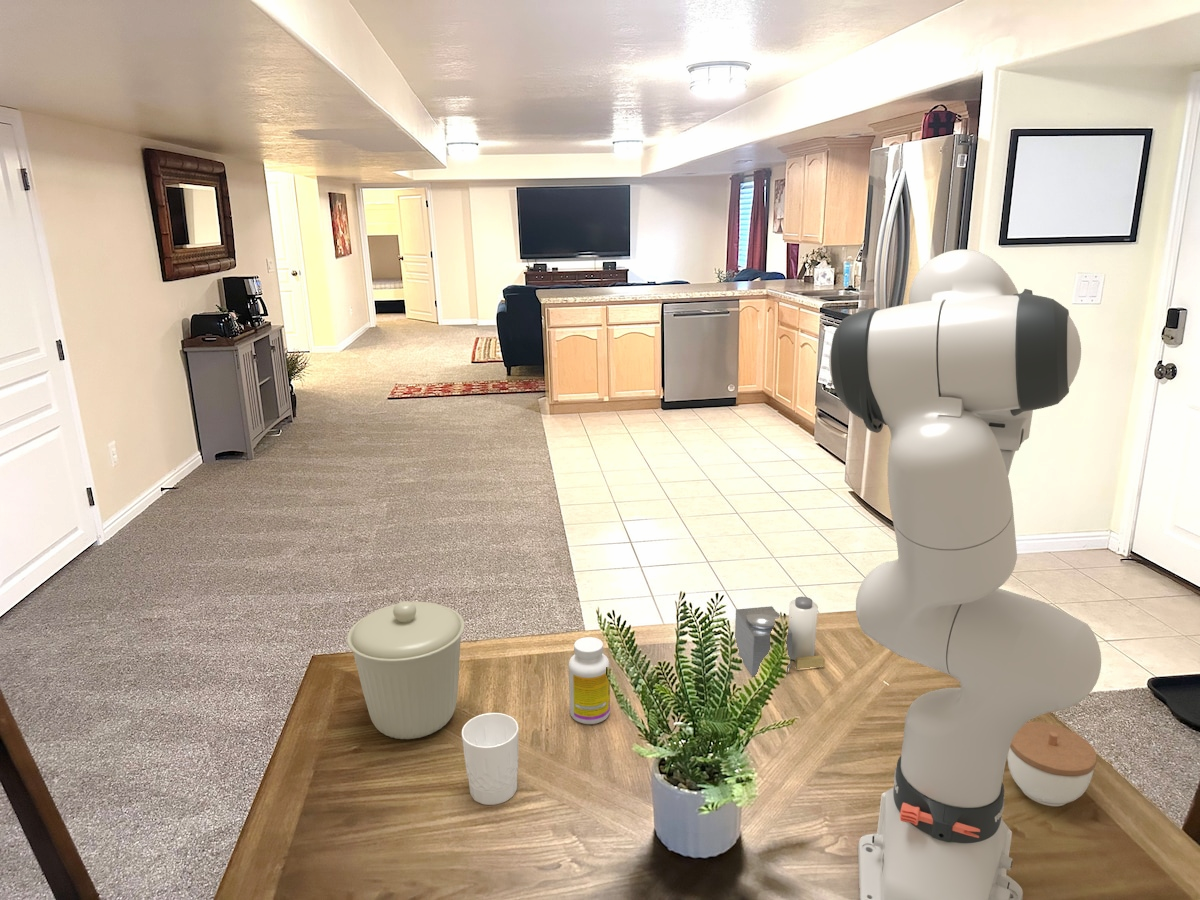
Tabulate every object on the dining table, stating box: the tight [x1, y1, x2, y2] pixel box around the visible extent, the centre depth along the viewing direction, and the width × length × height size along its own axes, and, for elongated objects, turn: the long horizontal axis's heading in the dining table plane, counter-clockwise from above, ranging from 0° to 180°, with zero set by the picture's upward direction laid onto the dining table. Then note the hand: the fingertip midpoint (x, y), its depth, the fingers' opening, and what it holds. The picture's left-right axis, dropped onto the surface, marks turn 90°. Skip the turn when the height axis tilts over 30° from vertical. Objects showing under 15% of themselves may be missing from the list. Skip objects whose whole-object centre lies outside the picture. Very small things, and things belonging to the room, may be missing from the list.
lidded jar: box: [1007, 721, 1098, 807], centre depth 112 cm, size 11×11×9 cm
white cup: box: [461, 712, 519, 806], centre depth 113 cm, size 8×8×10 cm
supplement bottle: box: [568, 636, 611, 725], centre depth 130 cm, size 7×7×13 cm
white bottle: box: [787, 596, 819, 661], centre depth 146 cm, size 5×5×11 cm
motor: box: [734, 605, 825, 678], centre depth 147 cm, size 13×14×9 cm
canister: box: [346, 600, 466, 740], centre depth 128 cm, size 18×18×21 cm
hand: (985, 510), depth 124 cm, fingers open, 8 cm apart
